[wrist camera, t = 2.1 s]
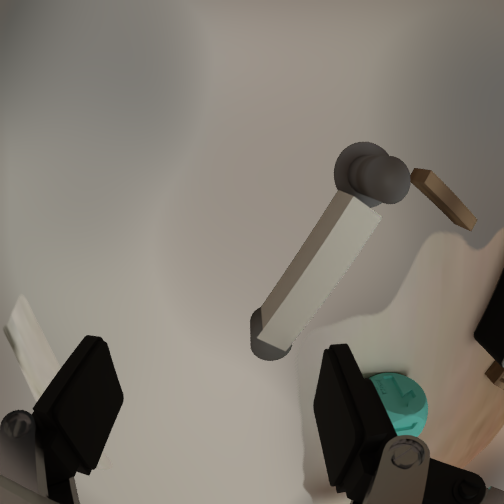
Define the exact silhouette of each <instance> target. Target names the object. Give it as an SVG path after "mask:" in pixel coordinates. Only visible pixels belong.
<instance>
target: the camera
mask: <svg viewBox="0 0 504 504" xmlns="http://www.w3.org/2000/svg"><path fill="white" fill-rule="evenodd" d="M474 338H475V340H476V341H477V342H478V343H479V344H480V345H481V346H482V347H483V348H484V349H485V350H486V351H487V352H488V353H489V354H490V355H491V356H492V357H493V358H494V359H495V360H496V361H497V362H498V363H499V365H500V366H501V367H503V368H504V268H503V271H502V274H501V276H500V279H499V281H498V283H497V286H496V288H495V291H494V293H493V295H492V297H491V300H490V302H489V304H488V306H487V308H486V310H485V312H484V314H483V317H482V319H481V321H480V322H479V324H478V326H477V328H476V330H475V332H474Z"/></svg>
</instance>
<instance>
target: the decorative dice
mask: <svg viewBox="0 0 504 504" xmlns="http://www.w3.org/2000/svg"><path fill="white" fill-rule="evenodd" d="M369 379H371V380H372V382H373V384H374V386H375V388H376V390H377V392H378V394H379V396H380V398H381V401H382V403H383V405H384V407H385V409H386V411H387V413H388V416H389V418H390V420H391V422H392V424H393V427H394V429H395V431H396V433H397V435H398V436H401V435H412V436H415V437H418V436H419V434H420V433H421V432H422V430H423V428H424V426H425V423H426V420H427V415H428V404H427V399H426V395H425V393H424V391H423V389H422V388H421V387H420V386H419V385H418V384H417V383H416V382H415V381H414V380H412V379H410V378H409V377H406V376H404V375H401V374H397V373H381V374H377V375H374V376H372V377H370V378H369Z"/></svg>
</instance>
